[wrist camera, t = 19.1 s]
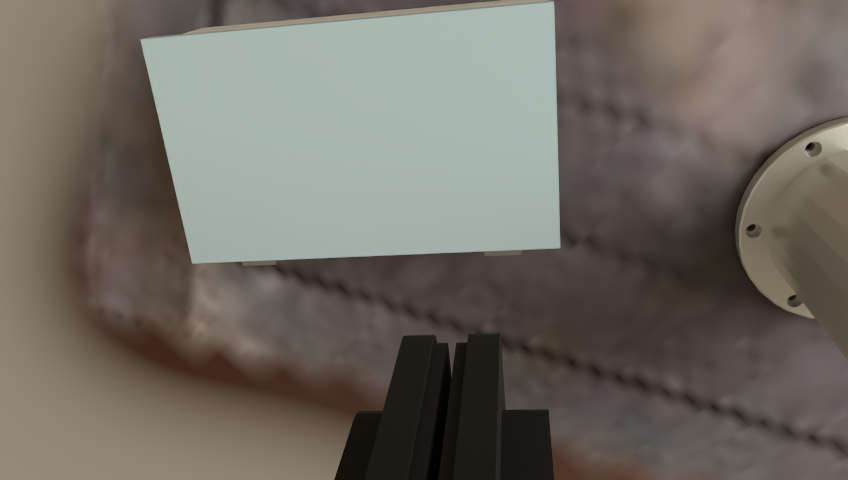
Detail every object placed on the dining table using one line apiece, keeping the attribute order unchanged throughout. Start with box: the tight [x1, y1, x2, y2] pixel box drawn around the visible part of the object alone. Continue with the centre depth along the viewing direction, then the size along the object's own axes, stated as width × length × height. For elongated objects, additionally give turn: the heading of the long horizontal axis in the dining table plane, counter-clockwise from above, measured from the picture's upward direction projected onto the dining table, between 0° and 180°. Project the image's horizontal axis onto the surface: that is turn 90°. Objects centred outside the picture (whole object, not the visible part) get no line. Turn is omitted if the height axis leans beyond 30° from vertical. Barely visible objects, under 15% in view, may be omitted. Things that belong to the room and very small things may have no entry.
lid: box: [141, 1, 560, 264], centre depth 36 cm, size 20×12×1 cm, turn 96°
